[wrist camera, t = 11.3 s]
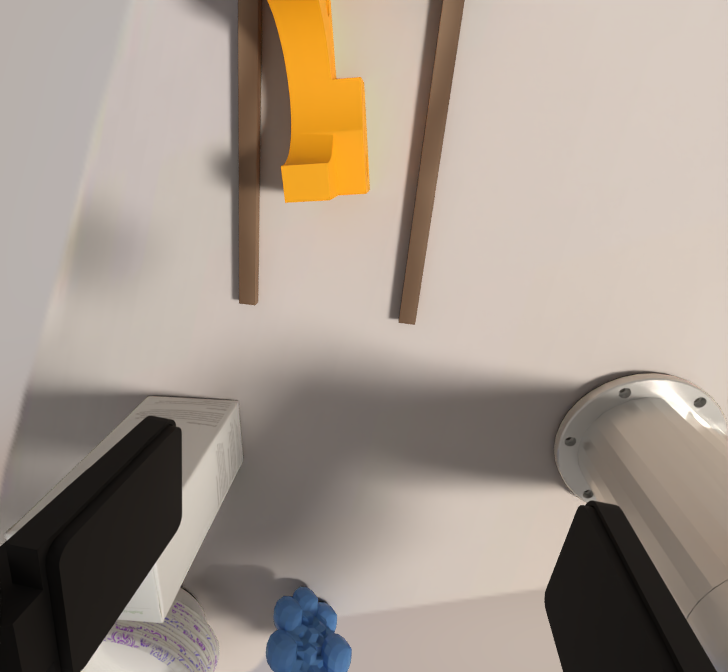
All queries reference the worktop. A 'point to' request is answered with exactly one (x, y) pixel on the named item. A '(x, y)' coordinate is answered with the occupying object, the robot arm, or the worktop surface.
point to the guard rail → (251, 150)
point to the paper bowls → (160, 643)
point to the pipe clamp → (320, 108)
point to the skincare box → (199, 489)
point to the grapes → (306, 636)
